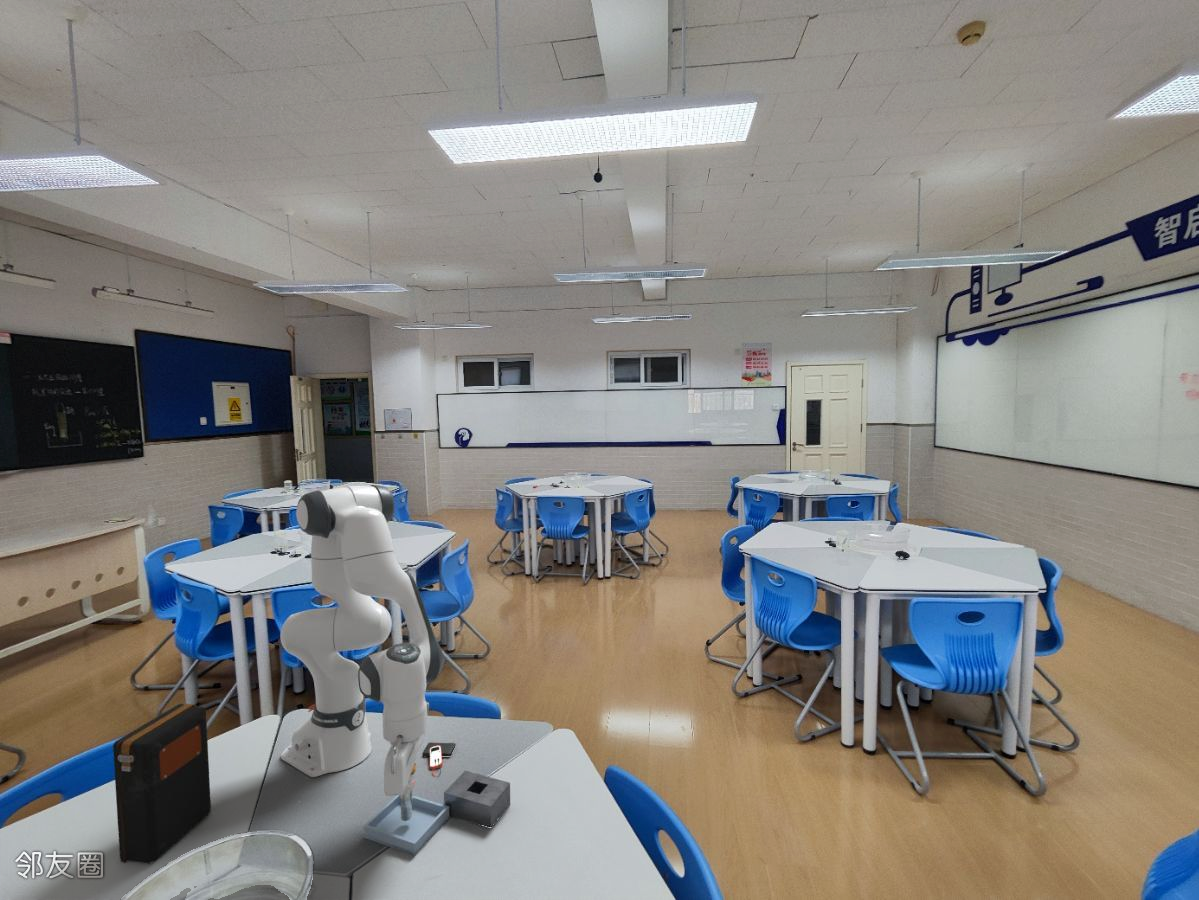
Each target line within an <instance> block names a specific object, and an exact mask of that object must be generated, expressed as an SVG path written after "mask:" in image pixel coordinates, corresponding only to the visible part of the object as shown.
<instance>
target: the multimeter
mask: <svg viewBox="0 0 1199 900" xmlns="http://www.w3.org/2000/svg"><path fill="white" fill-rule="evenodd" d="M456 745H457V744H456V743H455V742H428V743H427V745H426V746H425V748H424V750H422V757H423V756H426V757H425V758H428V757H427V756H430V757H429V769H430V770H432V772H434V770H437V769H436V768H438V769H439V770H440V773H439V775H438V776H437V775H435V774H434V773H432V775H433V776H434V777H435V778H436V779H438V778H439V777H440V775H441V774H442V771H441V768H442V767H443V757H442V756H451V754H452V752H453V750H454V748H455V746H456ZM455 749H456V748H455ZM454 751H455V750H454ZM453 753H454V752H453ZM452 755H453V754H452ZM451 757H452V756H451ZM441 766H442V767H441ZM440 767H441V768H440ZM416 782H417V781H416V780H415V781H414V782H413V786H414V785H415V784H414V783H416Z"/></svg>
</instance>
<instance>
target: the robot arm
mask: <svg viewBox="0 0 1199 900" xmlns="http://www.w3.org/2000/svg"><path fill="white" fill-rule="evenodd" d="M395 507H396V506H395V498H394V495H393V493H392V491H390V489H389V488H388V487H386V486H383V485H378V484H370V485H346V486H343V487H336V488H329V489H325V490H319V489H318V490H314V491H310V492H309V491H308V492H307V493H304V494H303V495H302V496H301V498H299V500H298V502H297V505H296V521H297V523H298V527H299V528H300V530H301V531H302V532H303V533H305V534H306V535H308V536H311V547H310V550H311V551H310V552H311V553H310V557H311V558H310V559H311V560H310V562H311V584H312V586H313V589H315V591H316V592H318V593H319V594H321V595H323V596H325V597H329V598H331V599H332V600H334V602H336V604H337V605H338V606H335V607H333V606H332V607H324V608H322V607H321V608H312V609H307V610H303V611H299V612H296V613H292V614H291V615H289V616H288V617H287V619H285V621H284V623H283V625H282V626H281V628H280V643H281V645H282V648H284V650H285V651H286V652H287V653H288V654H290V655H292V656H294V657H296V658H297V659H298V660H300V661H301V662H302V663H303V664H304V665H305V666H306V668H307V669H308V671H309V672H310V674H311V676H312V679H313V682H314V683H313V684H314V693H315V704H312V705H311V706H309V707H308V708H307V709H309V710H307V711H308V713H310V712H312V714H311V717H309V718H308V719H307V720H306V721H304V722H303V723H302V724H300V725H299V726H298V727H297V728H296V729H295V730H294V732H293V734H292V737H291V743H290V744H289V745H288V746H287V747H286V748H285V749H284V750H283V751H282V753H281V755H280V758H281V760H283V761H284V762H286V763H287V764H289V765H291V766H292V767H293V768H296V769H297V770H299V771H301V772H302V773H303V774H305V775H306V776H308V777H311V778H316V777H319V776H322V775H325V774H329V773H333V772H334V773H336V772H341V771H344V770H348V769H351V768H352V767H353V768H354V767H355V766H356V765H358V764H360V763H362V762H364V760H365V759H367V757H368V756H369V755H370V754H371V752H372V750H373V749H372V748H373V747H372V743H371V739H372V734H371V732H370V731H369V726H368V719H367V713H366V711H367V709H366V707H367V705H366V704H367V701H366V698H368V699H369V700H372V701H374V702H376V703H382V705H383V710H382V735H383V738H384V740H385V741H387V742H389V744H390V745H391V746H390V747H389V750H388V752H387V754H386V757H385V762H384V769H383V770H384V774H383V775H384V777H383V791H384V794H385V795H386V796H388V797H389V796H393V797H394V796H397V795H406V794H408V791H409V789H410V787H409V785H410V783H409V782H408V780H409V777H410V774H411V772H412V769H413V767H414V764H415V763H416V761H417V758H418V756H419V753H420V750H421V747H422V746H423V743H424V740H425V736H426V732H427V730H428V714H429V710H430V702H429V701H426V698H425V695H426V692H427V691H426V690H427V684H430V683H433V682H435V681H436V680H437V679H438V677H439V676H440V673H441V672H442V670H443V669H444V665H445V658H444V653H443V650H442V647H441V646H440V643H439V642H438V639H437V638H436V635H435V633H434V630H433V628H432V624H431V622H430V619H429V616H428V613H427V610H426V607H425V604H424V600H423V599H422V595H421V593H420V591H419V587H418V585H417V583H416V580H415V579H414V577H413V576H412V574H411V573H410V572H407V571H405V570H404V569H403V568H402V567H401V566H400V564H399V562H398V559H397V557H396V554H395V549H394V543H393V539H392V534H391V531H390V528H389V524H388V523H389V522H390V521H391V520H392V518H393V516H394V513H395ZM373 598H381V599H385V600H390V601H393V602H394V603H396V605H397V604H398V606H399V607H400V609H401V611H402V613H403V618H404V619H405V620H404V621H405V622H406V626H407V629H408V631H409V635H410V637H411V638H410V642H403V643H397V644H393V645H391V646H390V647H388V648H387V649H384V650H380V651H377V652H374V653H372V654H369V655H368V656H366V657H365V658H364V659H363V660H362V662H361V664H360V665H359V664H358V663H356V662H355V661H353V660H351V659H349V658H348V659H347V658H345V657H343V656H342V654H340V653H339V652H345V651H347V652H348V651H355V650H363V649H367V648H371V647H374V646H378V645H381V644H383V643H384V642H385V641H386V640H387V639H388V637H389V636H390V633H391V630H392V626H393V623H392V621H393V620H392V617H391V613H390V612H389V611H388V609H387V608H386V607H385V606H384V605H381V603H378V602H377V601H376V600H375V599H373ZM412 778H413V779H414V778H415V773H414V774H413V775H412Z"/></svg>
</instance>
